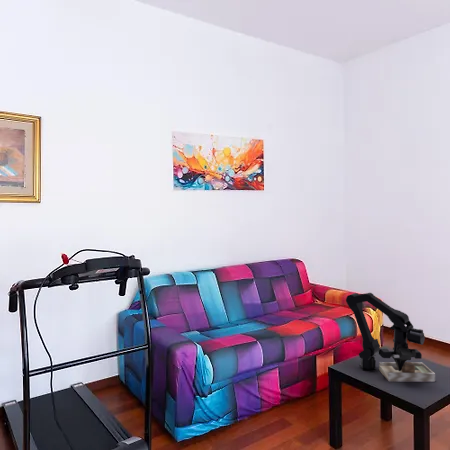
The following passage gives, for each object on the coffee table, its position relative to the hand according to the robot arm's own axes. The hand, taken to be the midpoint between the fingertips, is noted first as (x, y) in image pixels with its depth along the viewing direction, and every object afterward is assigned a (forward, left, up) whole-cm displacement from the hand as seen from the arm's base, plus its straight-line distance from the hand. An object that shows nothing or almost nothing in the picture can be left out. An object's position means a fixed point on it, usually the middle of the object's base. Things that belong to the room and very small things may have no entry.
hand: (399, 370), depth 195 cm
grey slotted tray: (+4, +3, -4) cm, 6 cm away
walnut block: (+4, 0, -1) cm, 4 cm away
